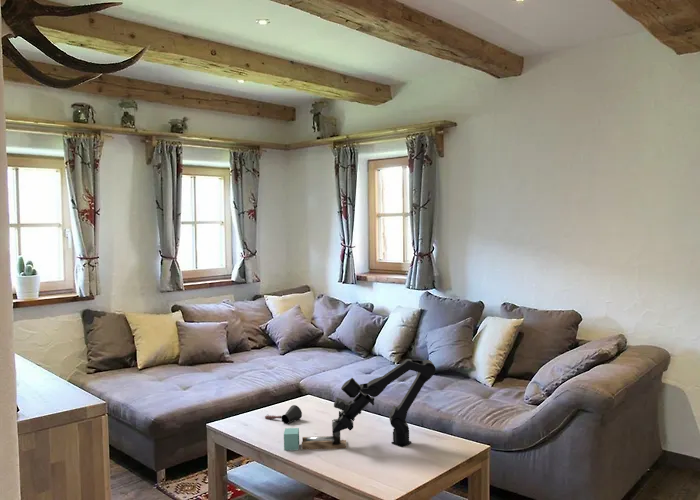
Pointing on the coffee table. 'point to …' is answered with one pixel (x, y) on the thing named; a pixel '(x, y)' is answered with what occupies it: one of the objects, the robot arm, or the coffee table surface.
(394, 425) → the robot arm
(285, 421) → the black handbell
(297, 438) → the socket block
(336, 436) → the slip rod
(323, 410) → the coffee table surface
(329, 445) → the guide
